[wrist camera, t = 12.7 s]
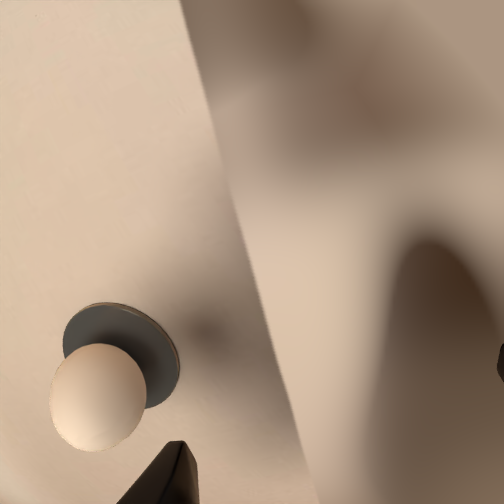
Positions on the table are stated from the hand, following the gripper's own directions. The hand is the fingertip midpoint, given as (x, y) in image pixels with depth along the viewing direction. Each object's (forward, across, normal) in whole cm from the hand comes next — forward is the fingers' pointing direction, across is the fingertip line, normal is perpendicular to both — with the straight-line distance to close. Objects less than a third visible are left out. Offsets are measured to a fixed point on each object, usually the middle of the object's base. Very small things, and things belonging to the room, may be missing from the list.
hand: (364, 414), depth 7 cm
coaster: (+11, +12, +3) cm, 17 cm away
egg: (+11, +12, +3) cm, 16 cm away
